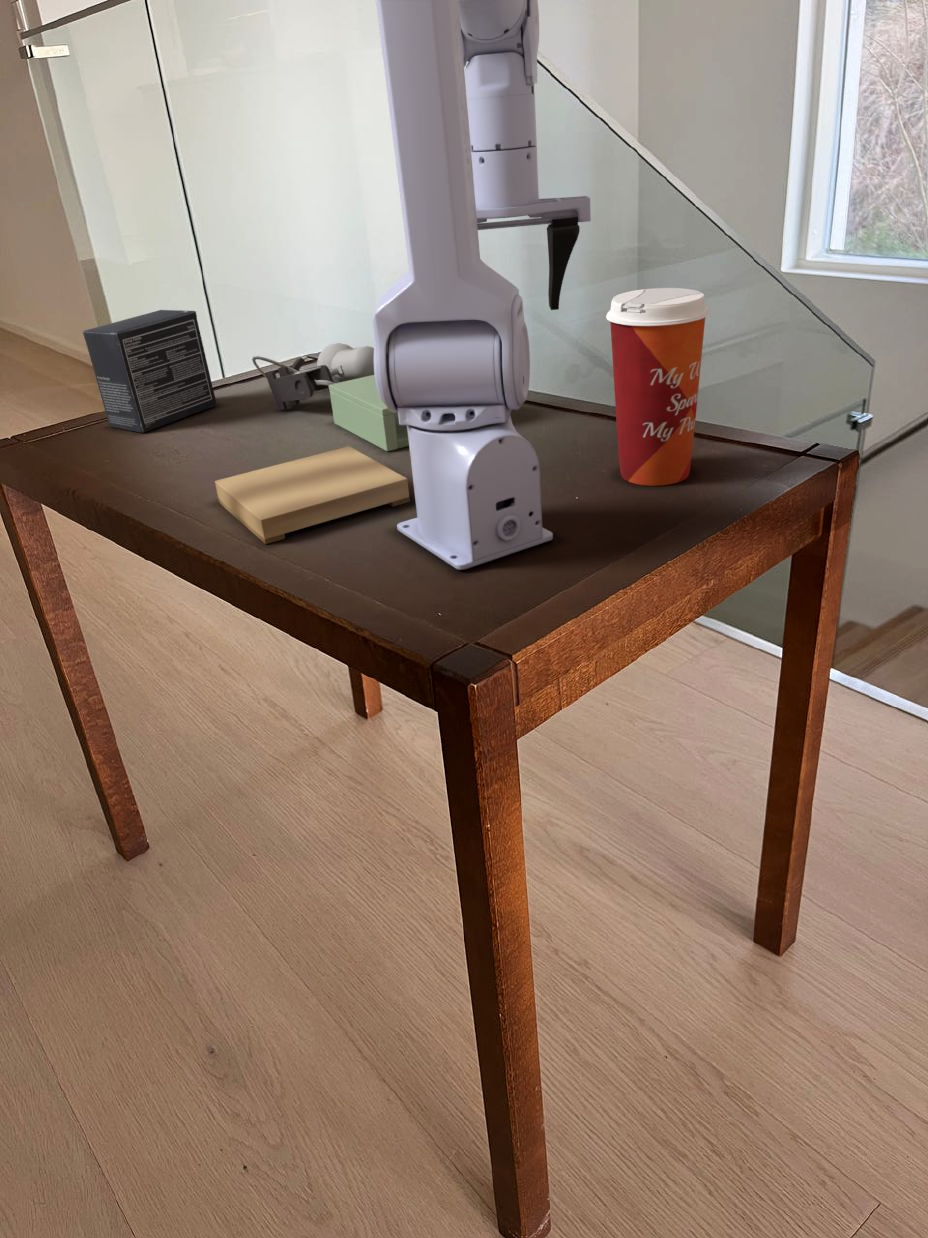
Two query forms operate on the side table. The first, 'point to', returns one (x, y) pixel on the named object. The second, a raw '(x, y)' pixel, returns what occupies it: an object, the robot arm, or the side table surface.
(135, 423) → the small box
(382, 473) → the low shelf
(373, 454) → the side table surface
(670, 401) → the paper cup
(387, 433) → the shelf stand
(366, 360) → the clip-on lamp
